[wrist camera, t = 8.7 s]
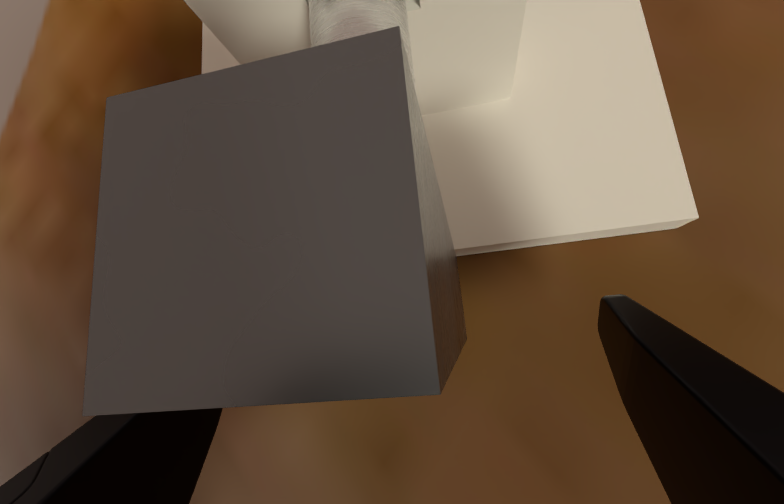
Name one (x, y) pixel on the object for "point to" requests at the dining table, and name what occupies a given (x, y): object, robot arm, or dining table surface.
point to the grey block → (275, 232)
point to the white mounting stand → (515, 112)
